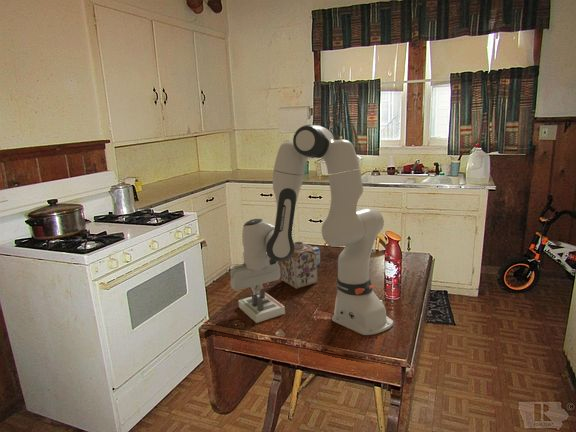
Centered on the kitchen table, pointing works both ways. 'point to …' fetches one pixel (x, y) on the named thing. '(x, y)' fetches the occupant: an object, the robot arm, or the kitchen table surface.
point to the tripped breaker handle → (262, 292)
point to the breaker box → (261, 307)
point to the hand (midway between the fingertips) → (256, 294)
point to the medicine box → (317, 254)
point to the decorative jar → (300, 266)
